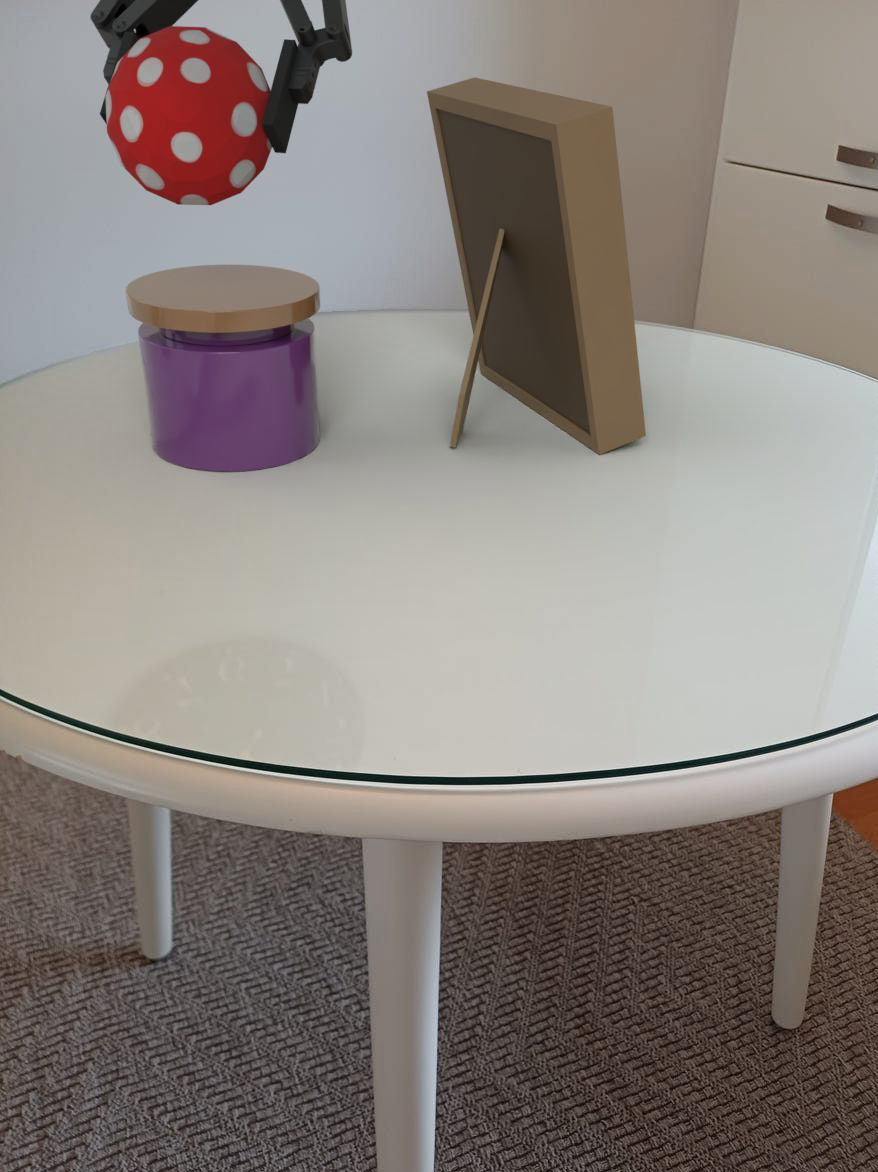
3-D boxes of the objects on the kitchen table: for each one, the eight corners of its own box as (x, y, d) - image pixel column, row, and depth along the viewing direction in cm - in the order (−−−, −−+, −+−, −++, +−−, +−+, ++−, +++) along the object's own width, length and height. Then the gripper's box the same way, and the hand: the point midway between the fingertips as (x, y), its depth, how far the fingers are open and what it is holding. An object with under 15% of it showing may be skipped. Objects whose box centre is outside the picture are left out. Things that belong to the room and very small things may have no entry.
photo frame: (521, 369, 107) (535, 76, 94) (644, 447, 90) (682, 105, 78) (375, 386, 101) (369, 78, 89) (478, 473, 85) (489, 109, 72)
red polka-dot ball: (192, 44, 83) (148, -40, 68) (321, 137, 84) (304, 75, 70) (113, 175, 84) (52, 120, 69) (241, 264, 86) (208, 229, 71)
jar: (112, 462, 84) (88, 301, 78) (193, 403, 96) (178, 258, 90) (288, 483, 82) (278, 318, 76) (349, 420, 94) (344, 272, 88)
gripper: (436, -84, 81) (374, 182, 76) (139, -92, 85) (61, 160, 80) (415, -184, 73) (345, 103, 68) (92, -187, 78) (4, 82, 72)
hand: (192, 133), depth 74 cm, fingers closed on red polka-dot ball, 11 cm apart
